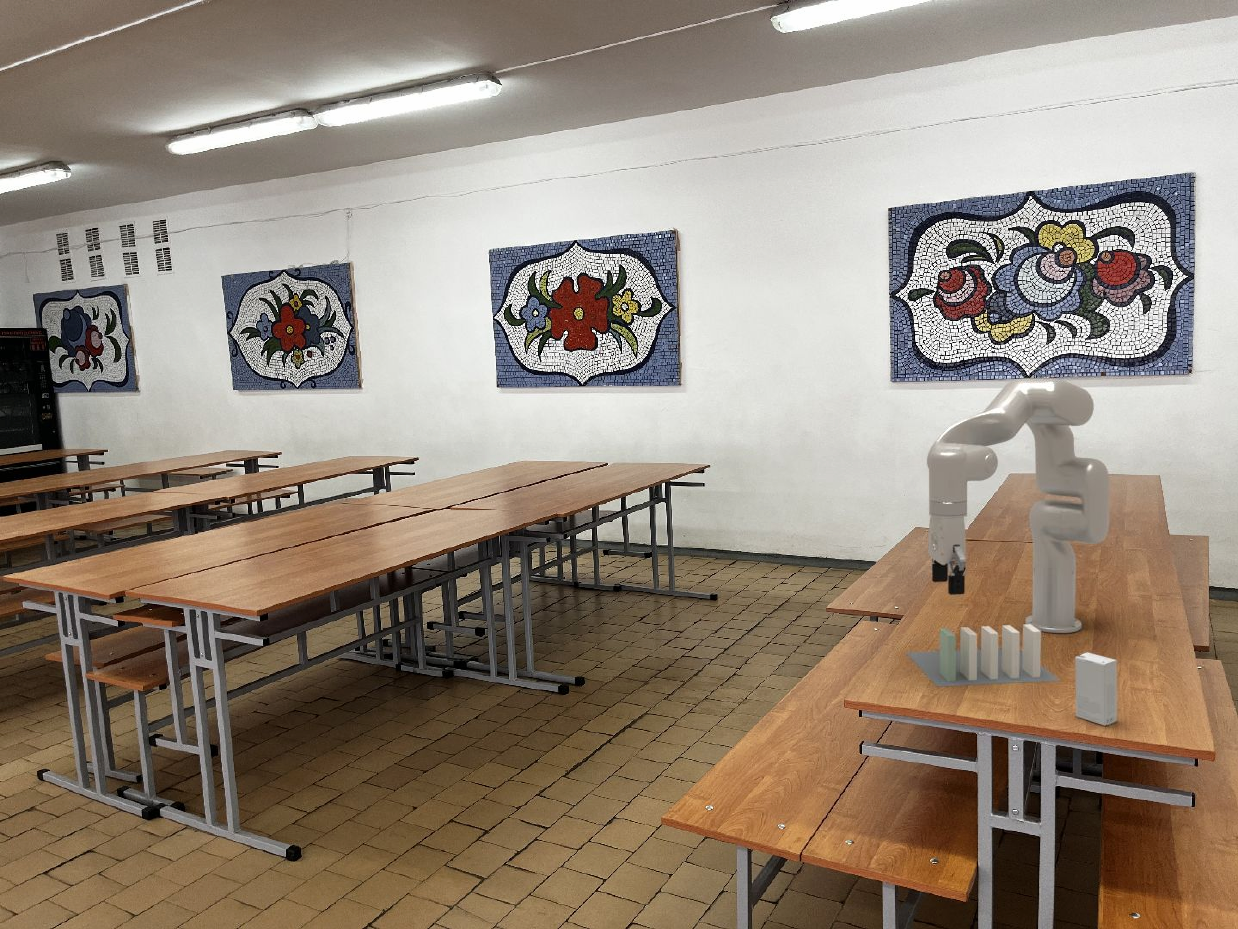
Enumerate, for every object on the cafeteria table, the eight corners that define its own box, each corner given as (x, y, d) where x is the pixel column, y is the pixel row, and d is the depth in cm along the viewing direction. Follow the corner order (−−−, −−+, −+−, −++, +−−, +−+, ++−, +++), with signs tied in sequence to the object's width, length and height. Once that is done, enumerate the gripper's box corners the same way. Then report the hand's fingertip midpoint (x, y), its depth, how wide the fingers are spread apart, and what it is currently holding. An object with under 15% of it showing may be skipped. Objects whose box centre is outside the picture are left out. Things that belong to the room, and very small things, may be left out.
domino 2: (988, 670, 203) (988, 626, 201) (997, 679, 198) (998, 633, 196) (981, 671, 203) (981, 626, 201) (990, 679, 198) (990, 633, 196)
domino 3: (1009, 669, 203) (1009, 625, 201) (1019, 678, 198) (1019, 632, 196) (1001, 670, 203) (1002, 625, 201) (1011, 678, 198) (1012, 632, 196)
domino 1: (967, 671, 203) (968, 627, 201) (976, 680, 198) (977, 634, 196) (960, 672, 203) (960, 627, 201) (969, 680, 198) (969, 634, 196)
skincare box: (1118, 721, 176) (1119, 659, 174) (1104, 727, 173) (1106, 664, 172) (1086, 711, 181) (1088, 650, 179) (1073, 717, 179) (1074, 656, 177)
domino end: (946, 672, 203) (947, 628, 201) (955, 681, 198) (955, 635, 196) (939, 673, 203) (939, 628, 201) (948, 681, 198) (948, 635, 196)
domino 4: (1029, 668, 203) (1030, 624, 201) (1040, 677, 198) (1041, 631, 196) (1022, 669, 203) (1023, 624, 201) (1032, 677, 198) (1033, 631, 196)
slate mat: (1017, 649, 216) (1017, 647, 216) (1060, 682, 195) (1060, 680, 195) (905, 654, 216) (905, 652, 216) (936, 688, 195) (936, 686, 195)
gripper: (916, 501, 204) (917, 578, 206) (944, 517, 187) (944, 600, 189) (951, 500, 204) (951, 576, 206) (982, 515, 187) (981, 598, 189)
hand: (947, 587), depth 198 cm, fingers open, 9 cm apart
